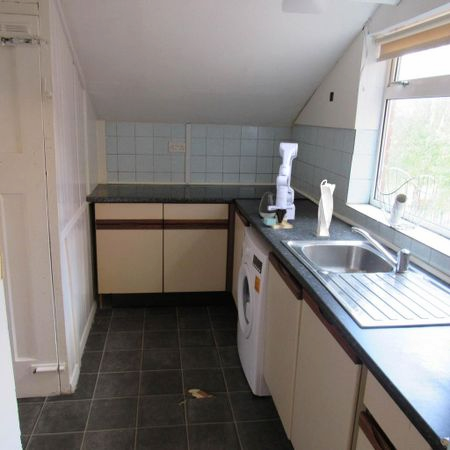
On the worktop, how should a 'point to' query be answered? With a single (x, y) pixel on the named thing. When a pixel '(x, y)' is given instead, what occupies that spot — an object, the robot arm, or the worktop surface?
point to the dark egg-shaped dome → (265, 202)
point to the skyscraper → (325, 210)
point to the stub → (269, 221)
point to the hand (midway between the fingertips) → (279, 222)
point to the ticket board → (281, 224)
